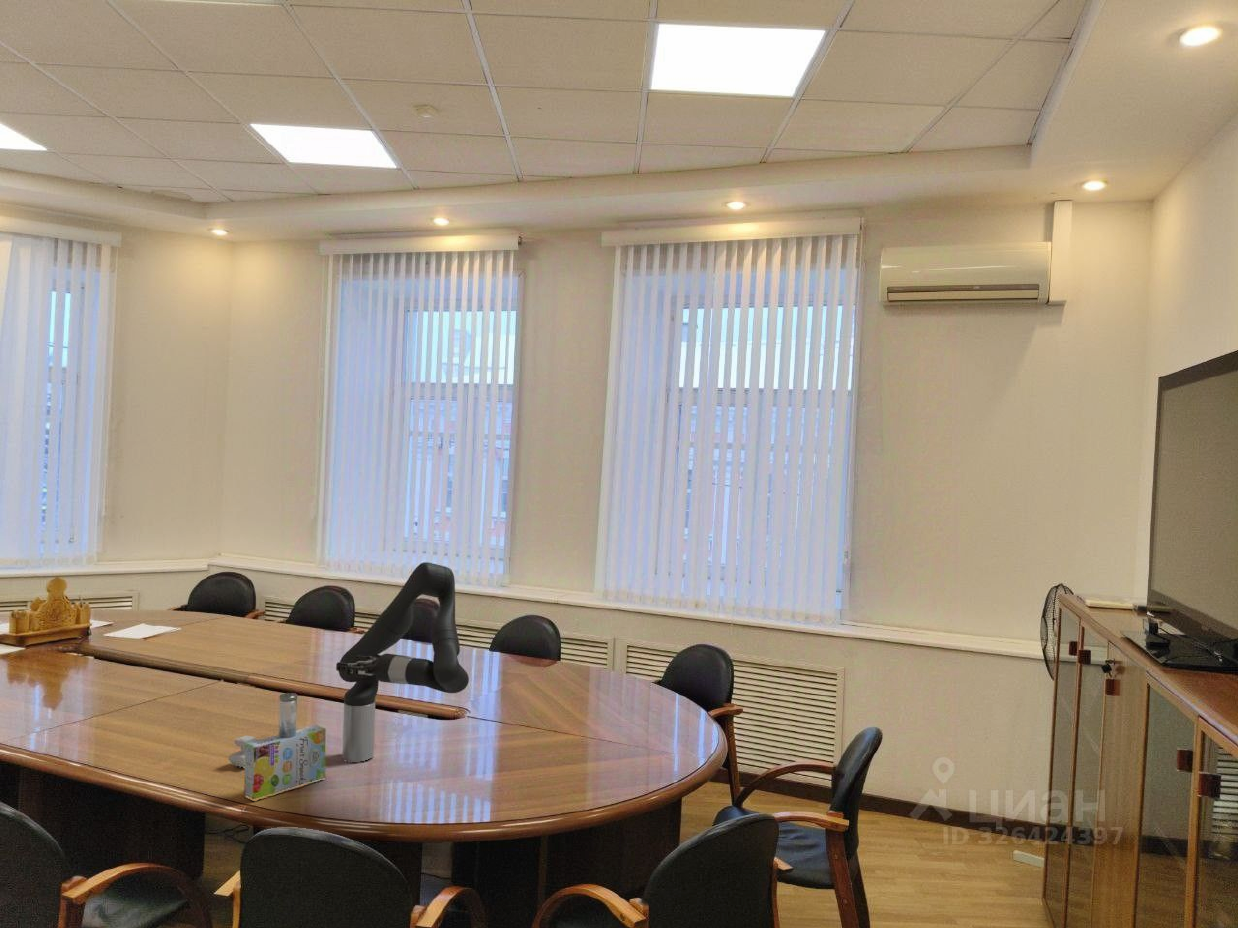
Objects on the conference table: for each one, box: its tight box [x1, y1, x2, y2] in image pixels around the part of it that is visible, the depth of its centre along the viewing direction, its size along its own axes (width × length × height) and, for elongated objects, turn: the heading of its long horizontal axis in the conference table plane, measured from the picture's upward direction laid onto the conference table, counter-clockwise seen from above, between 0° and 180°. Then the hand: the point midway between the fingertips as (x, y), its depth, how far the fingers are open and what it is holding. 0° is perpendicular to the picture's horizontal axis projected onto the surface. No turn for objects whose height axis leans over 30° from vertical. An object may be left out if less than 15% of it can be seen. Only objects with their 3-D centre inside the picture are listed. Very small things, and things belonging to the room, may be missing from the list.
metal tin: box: [278, 692, 298, 738], centre depth 228 cm, size 5×5×11 cm
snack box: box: [243, 724, 327, 799], centre depth 228 cm, size 21×6×15 cm, turn 141°
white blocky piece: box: [228, 735, 257, 768], centre depth 243 cm, size 9×7×8 cm
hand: (346, 662), depth 226 cm, fingers open, 8 cm apart
